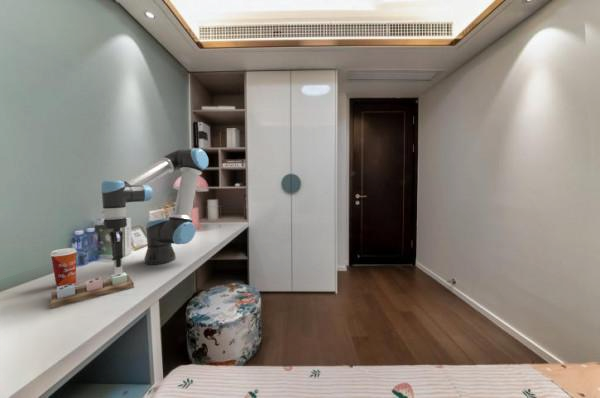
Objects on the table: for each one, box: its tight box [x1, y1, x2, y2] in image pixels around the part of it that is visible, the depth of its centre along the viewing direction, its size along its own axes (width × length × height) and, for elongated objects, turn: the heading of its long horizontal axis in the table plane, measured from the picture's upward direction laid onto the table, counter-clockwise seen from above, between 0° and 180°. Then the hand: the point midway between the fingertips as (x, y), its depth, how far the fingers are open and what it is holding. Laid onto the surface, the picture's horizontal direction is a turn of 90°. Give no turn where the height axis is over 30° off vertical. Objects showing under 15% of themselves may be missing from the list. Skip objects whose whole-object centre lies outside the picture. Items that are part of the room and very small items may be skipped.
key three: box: [56, 283, 76, 299], centre depth 91 cm, size 5×5×4 cm
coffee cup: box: [49, 247, 78, 288], centre depth 104 cm, size 8×8×15 cm
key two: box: [85, 276, 103, 291], centre depth 96 cm, size 5×5×4 cm
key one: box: [110, 271, 128, 285], centre depth 102 cm, size 5×5×4 cm
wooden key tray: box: [50, 274, 135, 309], centre depth 97 cm, size 24×12×2 cm, turn 134°
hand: (118, 274), depth 102 cm, fingers closed
